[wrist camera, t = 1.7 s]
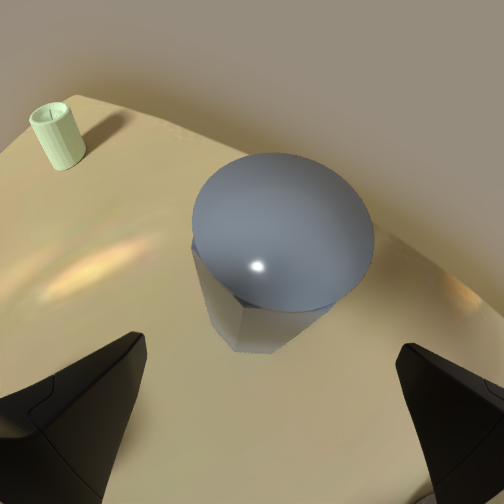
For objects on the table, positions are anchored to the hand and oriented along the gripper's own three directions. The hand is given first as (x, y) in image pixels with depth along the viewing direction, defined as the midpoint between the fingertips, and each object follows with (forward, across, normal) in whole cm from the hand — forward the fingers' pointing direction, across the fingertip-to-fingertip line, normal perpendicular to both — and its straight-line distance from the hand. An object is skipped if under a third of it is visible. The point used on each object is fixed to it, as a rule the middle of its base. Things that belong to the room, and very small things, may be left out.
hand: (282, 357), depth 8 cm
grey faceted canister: (+11, 0, +5) cm, 12 cm away
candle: (+23, +24, -6) cm, 34 cm away
